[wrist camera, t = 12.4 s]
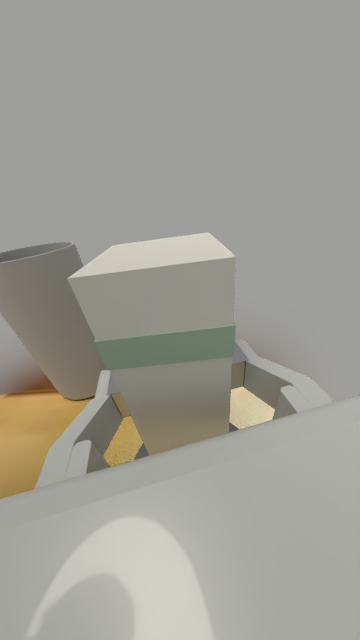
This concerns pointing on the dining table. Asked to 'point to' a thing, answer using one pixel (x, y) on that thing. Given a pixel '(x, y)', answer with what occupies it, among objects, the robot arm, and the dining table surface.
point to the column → (165, 333)
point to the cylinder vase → (50, 315)
